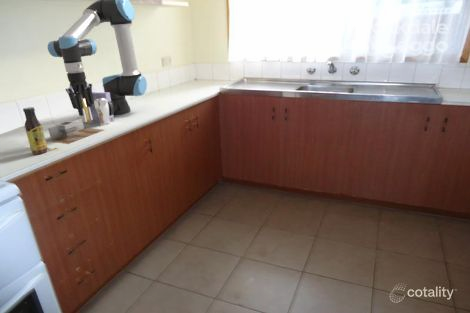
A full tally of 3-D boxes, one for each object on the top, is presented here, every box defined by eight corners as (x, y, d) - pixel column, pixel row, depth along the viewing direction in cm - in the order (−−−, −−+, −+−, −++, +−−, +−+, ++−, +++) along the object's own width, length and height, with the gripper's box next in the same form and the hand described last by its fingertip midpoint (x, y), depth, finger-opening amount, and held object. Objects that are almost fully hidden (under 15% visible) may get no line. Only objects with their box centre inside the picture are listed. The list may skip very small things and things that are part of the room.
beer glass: (98, 128, 173) (92, 101, 167) (99, 125, 179) (94, 98, 173) (112, 127, 175) (106, 99, 169) (113, 123, 181) (107, 97, 175)
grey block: (79, 129, 169) (76, 117, 167) (88, 130, 166) (85, 118, 164) (58, 136, 159) (55, 124, 156) (67, 137, 156) (64, 125, 154)
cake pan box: (117, 122, 184) (111, 91, 177) (112, 124, 179) (105, 92, 173) (87, 121, 188) (80, 91, 182) (82, 124, 184) (74, 93, 177)
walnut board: (83, 130, 172) (82, 127, 172) (105, 132, 166) (104, 129, 165) (45, 143, 154) (45, 140, 153) (68, 147, 147) (68, 143, 147)
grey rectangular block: (69, 131, 164) (66, 121, 162) (78, 132, 161) (75, 122, 159) (47, 139, 154) (44, 128, 152) (56, 140, 151) (53, 129, 149)
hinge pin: (88, 121, 161) (82, 98, 156) (92, 122, 159) (86, 98, 155) (83, 123, 158) (77, 99, 154) (87, 124, 157) (81, 99, 152)
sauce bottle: (40, 155, 139) (26, 110, 132) (28, 154, 141) (14, 110, 133) (52, 149, 145) (39, 106, 137) (41, 149, 147) (28, 106, 139)
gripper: (66, 74, 141) (79, 126, 150) (94, 69, 154) (105, 116, 163) (54, 74, 144) (68, 124, 153) (83, 69, 157) (94, 115, 166)
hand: (87, 120), depth 158 cm, fingers closed on hinge pin, 3 cm apart
